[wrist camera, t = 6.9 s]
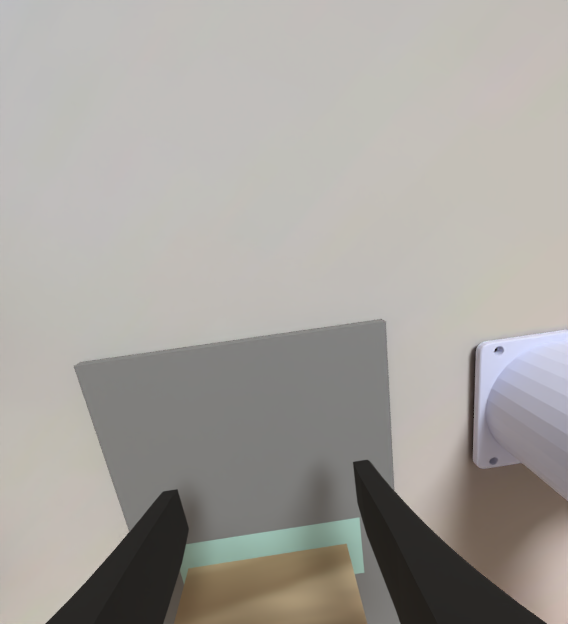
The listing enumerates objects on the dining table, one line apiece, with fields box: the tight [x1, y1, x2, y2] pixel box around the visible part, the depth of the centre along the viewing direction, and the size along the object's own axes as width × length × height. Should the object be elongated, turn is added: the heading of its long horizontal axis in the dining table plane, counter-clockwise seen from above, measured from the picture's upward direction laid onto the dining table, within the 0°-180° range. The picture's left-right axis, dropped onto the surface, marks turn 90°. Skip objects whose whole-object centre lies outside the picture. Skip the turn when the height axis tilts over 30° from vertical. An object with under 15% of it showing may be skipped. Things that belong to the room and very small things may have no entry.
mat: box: [74, 319, 400, 624], centre depth 16 cm, size 16×24×1 cm, turn 8°
